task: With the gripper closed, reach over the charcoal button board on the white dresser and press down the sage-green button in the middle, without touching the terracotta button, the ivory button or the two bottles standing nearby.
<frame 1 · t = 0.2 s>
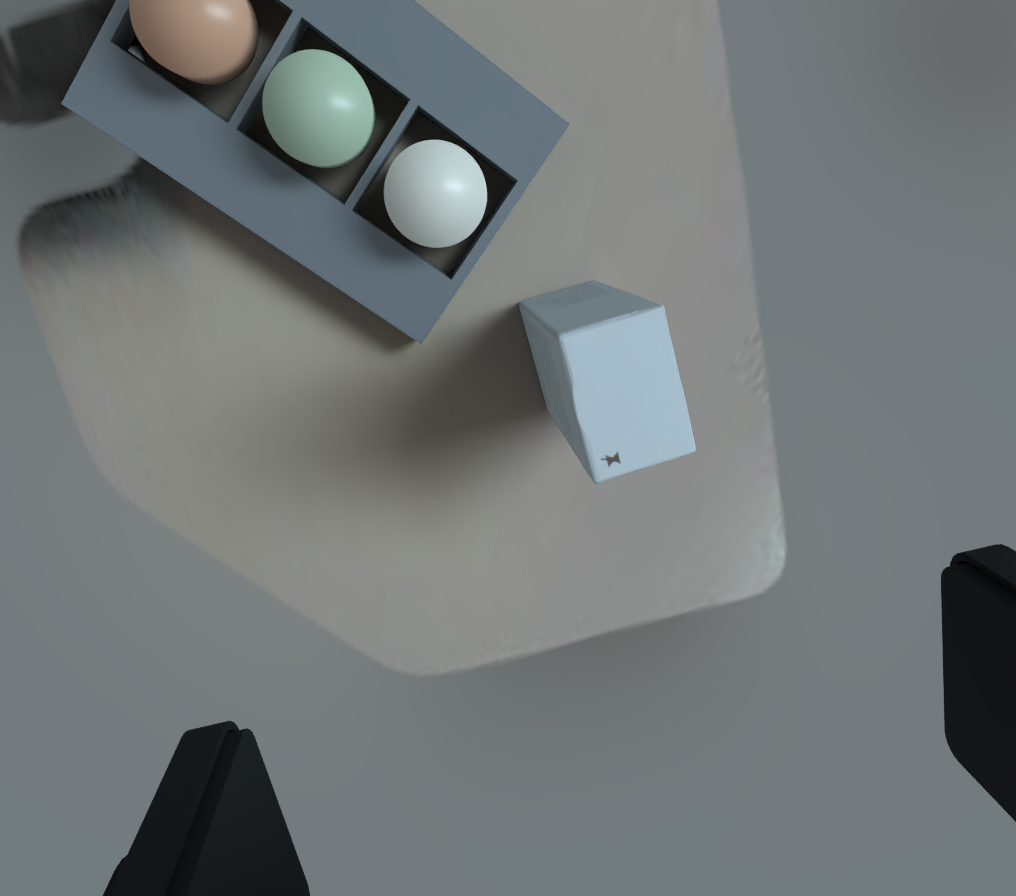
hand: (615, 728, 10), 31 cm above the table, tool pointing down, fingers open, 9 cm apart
button board: (329, 119, 36), on the table
ivory button: (435, 195, 35), point 3 cm above the table, slide at 0.0 cm
sage button: (321, 112, 33), point 3 cm above the table, slide at 0.0 cm
terracotta button: (196, 21, 32), point 3 cm above the table, slide at 0.0 cm
skincare box: (570, 343, 40), on the table
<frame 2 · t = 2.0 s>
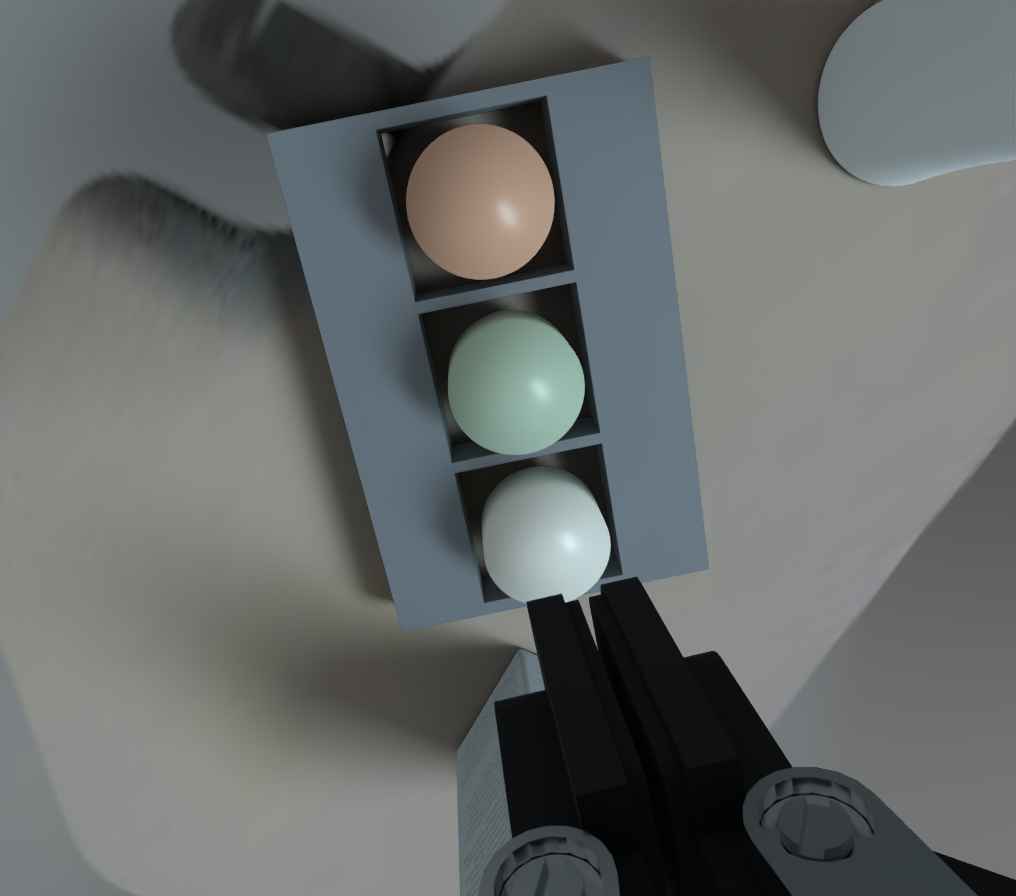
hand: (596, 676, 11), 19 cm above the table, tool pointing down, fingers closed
cosmetic bottle: (898, 93, 27), on the table
button board: (508, 362, 29), on the table
ivory button: (543, 534, 28), point 3 cm above the table, slide at 0.0 cm
sage button: (513, 381, 26), point 3 cm above the table, slide at 0.0 cm
terracotta button: (479, 203, 24), point 3 cm above the table, slide at 0.0 cm
skincare box: (529, 711, 34), on the table
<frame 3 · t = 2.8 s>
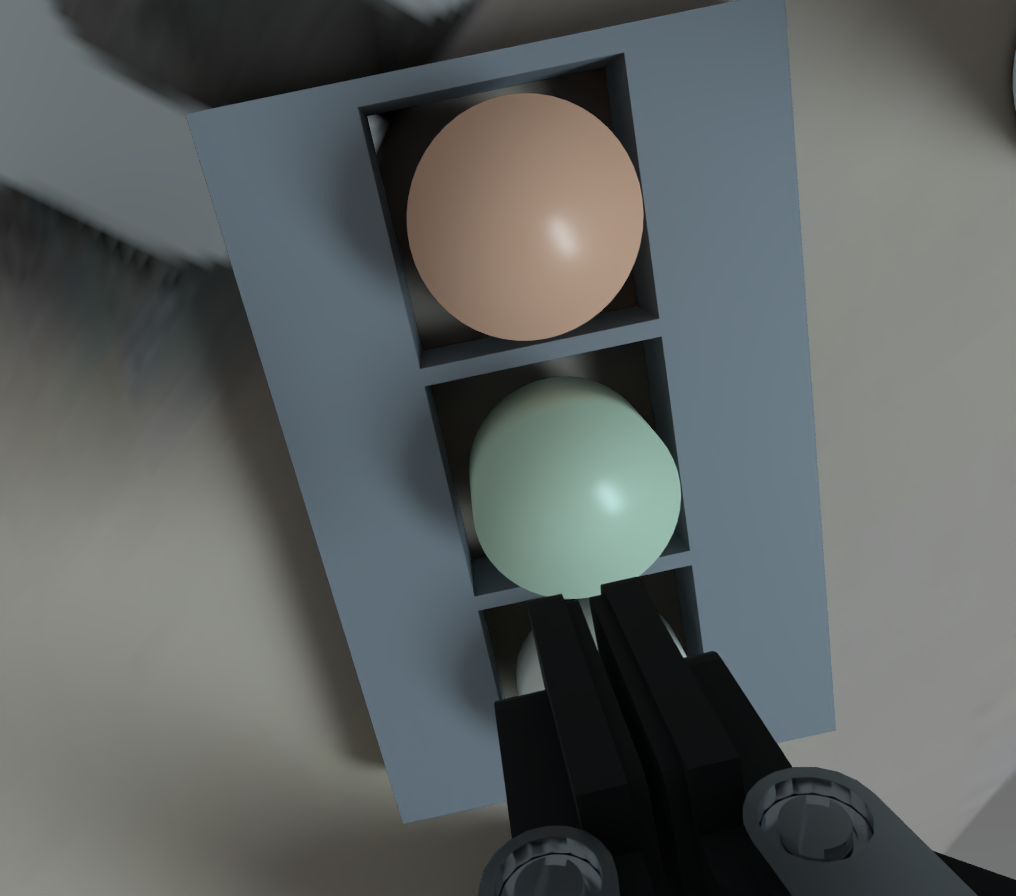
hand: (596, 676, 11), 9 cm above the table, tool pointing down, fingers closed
button board: (552, 445, 20), on the table
ivory button: (608, 698, 19), point 3 cm above the table, slide at 0.0 cm
sage button: (568, 484, 17), point 3 cm above the table, slide at 0.0 cm
terracotta button: (520, 220, 16), point 3 cm above the table, slide at 0.0 cm
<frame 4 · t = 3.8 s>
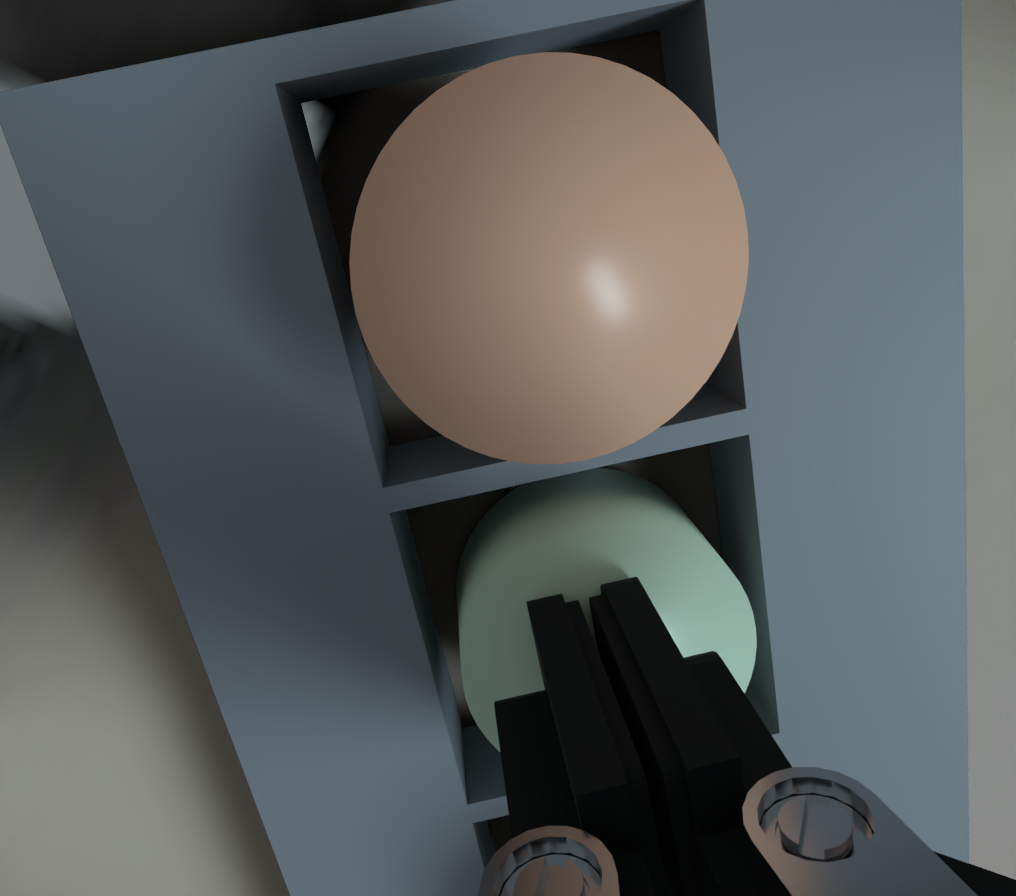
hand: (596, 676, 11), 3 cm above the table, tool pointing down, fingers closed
button board: (576, 573, 14), on the table
sage button: (594, 620, 13), point 2 cm above the table, slide at 1.1 cm, touching gripper
terracotta button: (539, 265, 10), point 3 cm above the table, slide at 0.0 cm
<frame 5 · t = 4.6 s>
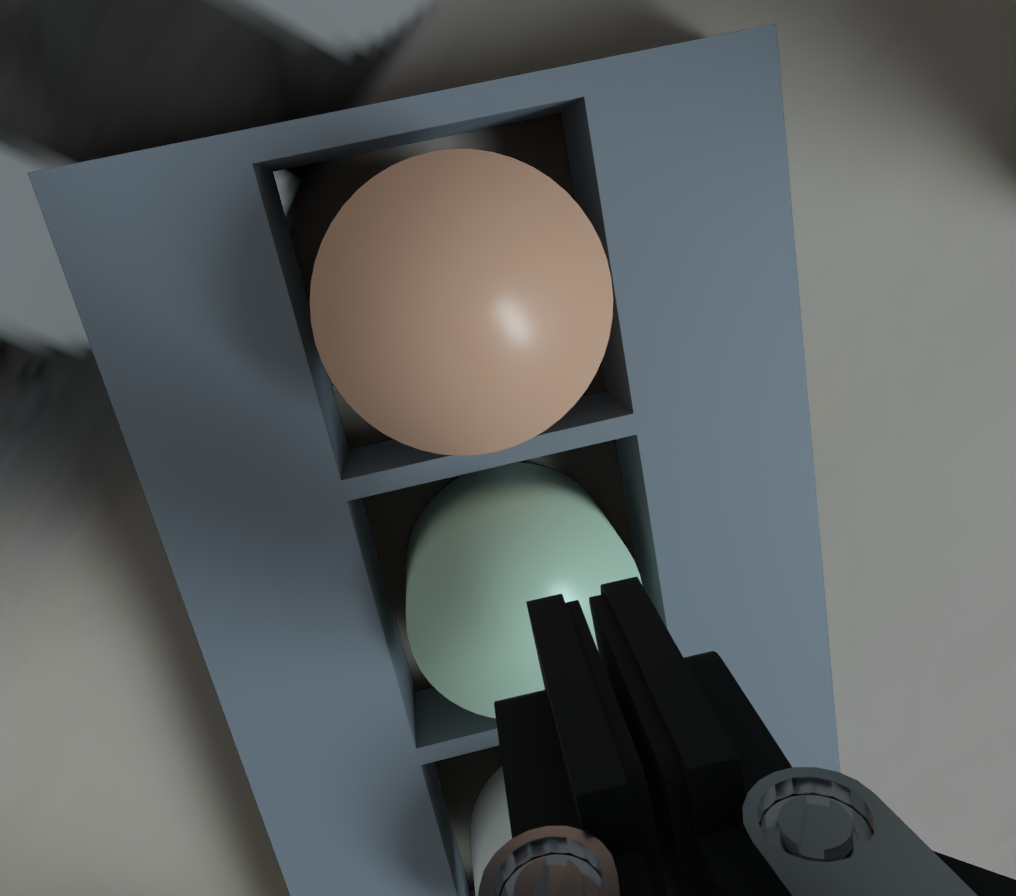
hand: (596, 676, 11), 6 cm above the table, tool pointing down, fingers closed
button board: (508, 555, 17), on the table
ivory button: (581, 866, 16), point 3 cm above the table, slide at 0.0 cm
sage button: (518, 586, 15), point 2 cm above the table, slide at 1.3 cm
terracotta button: (459, 302, 12), point 3 cm above the table, slide at 0.0 cm
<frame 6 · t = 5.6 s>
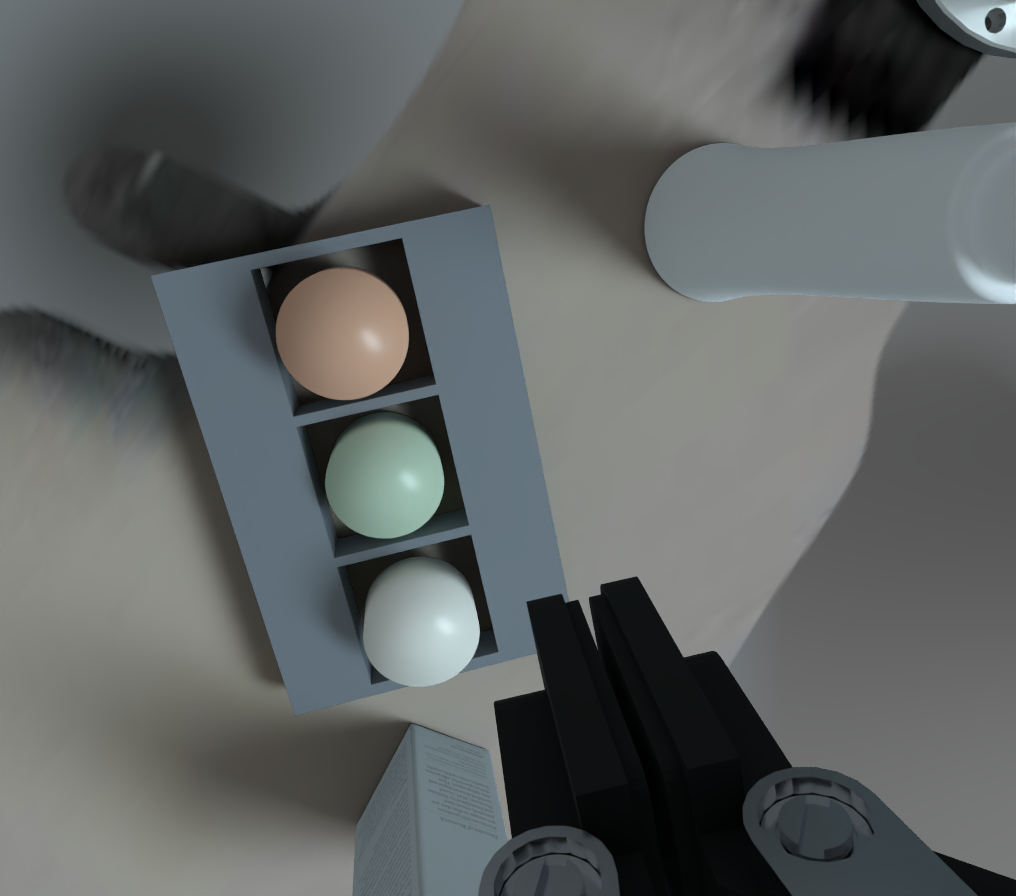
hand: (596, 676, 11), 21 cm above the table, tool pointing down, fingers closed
cosmetic bottle: (714, 224, 31), on the table
button board: (386, 463, 32), on the table
ivory button: (420, 620, 31), point 3 cm above the table, slide at 0.0 cm
sage button: (385, 474, 30), point 2 cm above the table, slide at 1.3 cm
terracotta button: (345, 331, 27), point 3 cm above the table, slide at 0.0 cm
skincare box: (424, 782, 36), on the table
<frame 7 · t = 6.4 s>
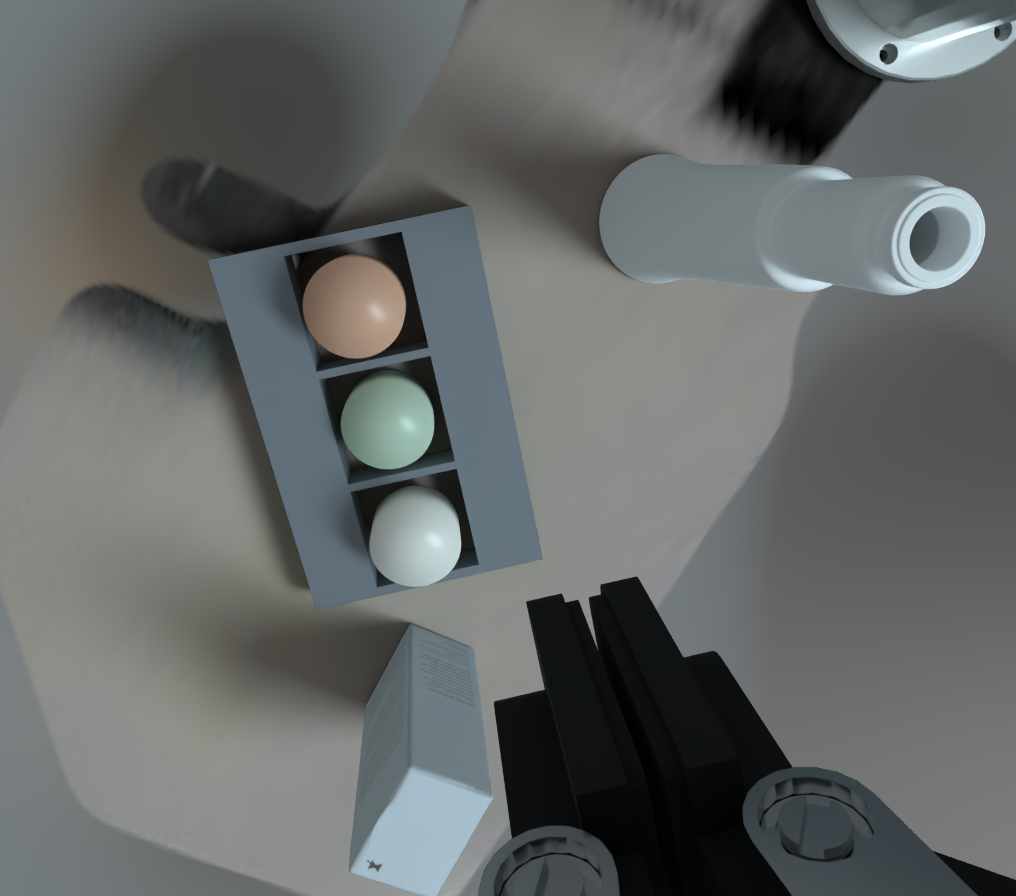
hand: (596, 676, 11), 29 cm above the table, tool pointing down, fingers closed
cosmetic bottle: (657, 220, 38), on the table
button board: (390, 411, 40), on the table
ivory button: (415, 535, 39), point 3 cm above the table, slide at 0.0 cm
sage button: (388, 418, 38), point 2 cm above the table, slide at 1.3 cm
terracotta button: (356, 305, 35), point 3 cm above the table, slide at 0.0 cm
skincare box: (421, 673, 45), on the table
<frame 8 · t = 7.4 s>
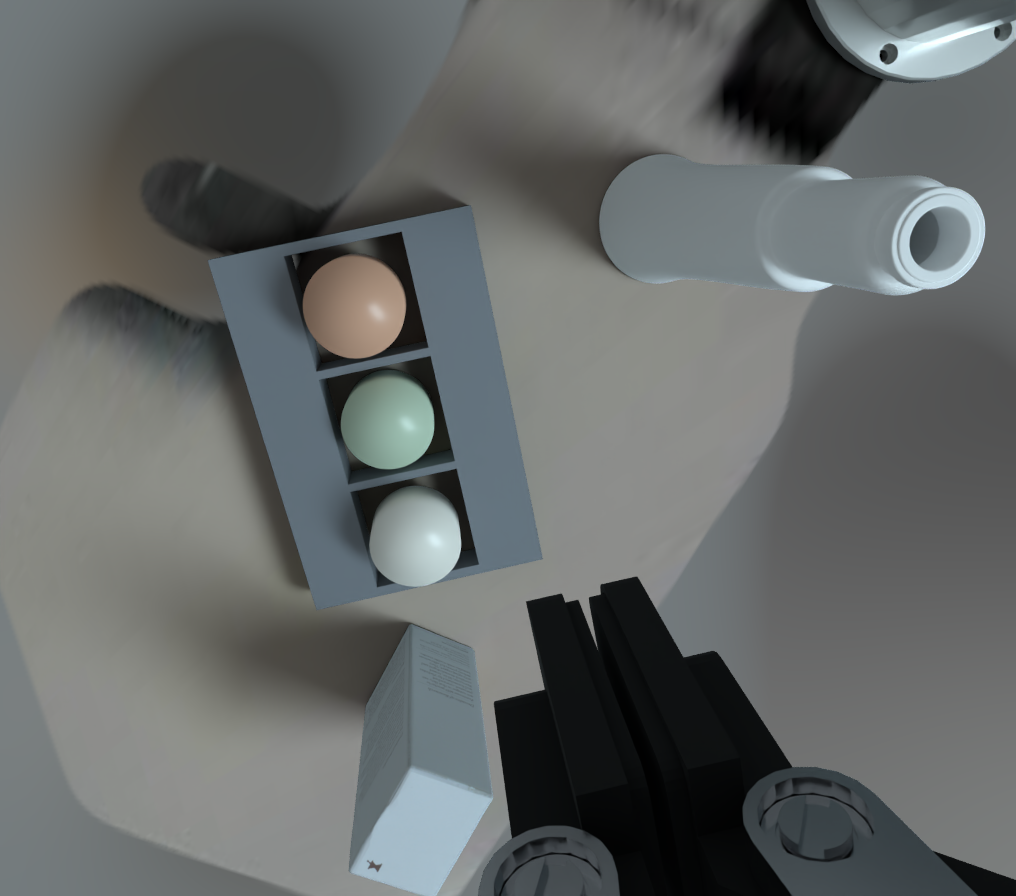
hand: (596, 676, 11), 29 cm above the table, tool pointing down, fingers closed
cosmetic bottle: (657, 220, 38), on the table
button board: (390, 411, 40), on the table
ivory button: (415, 535, 39), point 3 cm above the table, slide at 0.0 cm
sage button: (388, 418, 38), point 2 cm above the table, slide at 1.3 cm
terracotta button: (356, 305, 35), point 3 cm above the table, slide at 0.0 cm
skincare box: (421, 673, 45), on the table
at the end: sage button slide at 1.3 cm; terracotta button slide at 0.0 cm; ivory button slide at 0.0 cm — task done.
